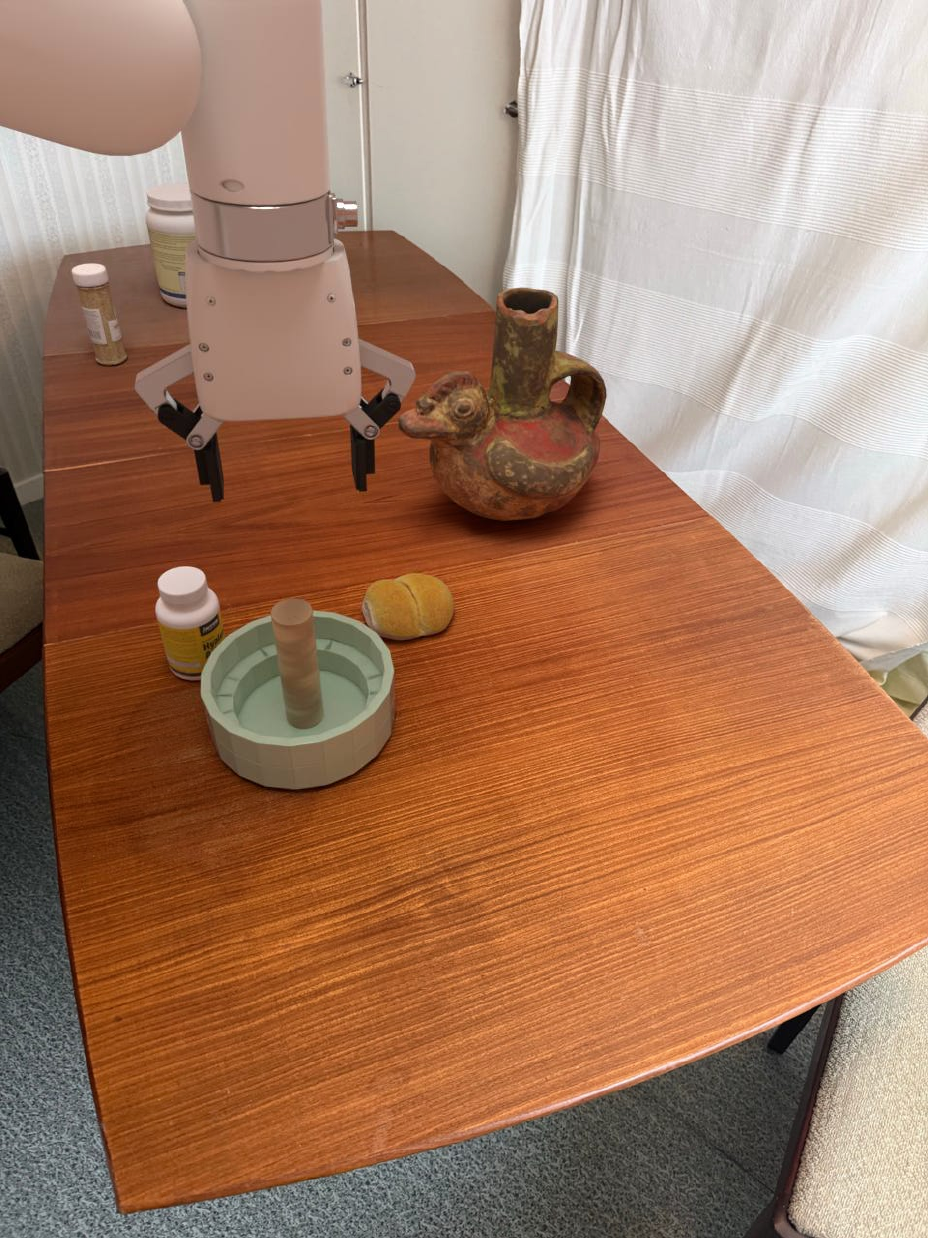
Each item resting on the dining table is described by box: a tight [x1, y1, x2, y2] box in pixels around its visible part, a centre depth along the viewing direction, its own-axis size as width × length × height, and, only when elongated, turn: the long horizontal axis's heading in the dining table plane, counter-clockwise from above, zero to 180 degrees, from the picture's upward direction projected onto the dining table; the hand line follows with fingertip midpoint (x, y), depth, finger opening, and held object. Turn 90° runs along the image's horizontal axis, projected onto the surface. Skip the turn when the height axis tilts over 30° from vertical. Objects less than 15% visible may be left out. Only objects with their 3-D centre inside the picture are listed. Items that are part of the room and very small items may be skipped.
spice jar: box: [71, 263, 128, 367], centre depth 120 cm, size 5×5×14 cm
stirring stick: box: [270, 597, 324, 729], centre depth 68 cm, size 3×3×12 cm
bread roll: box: [361, 572, 455, 641], centre depth 82 cm, size 8×9×4 cm
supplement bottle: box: [154, 565, 227, 681], centre depth 74 cm, size 5×5×10 cm
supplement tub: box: [145, 182, 197, 309], centre depth 138 cm, size 12×12×17 cm
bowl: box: [200, 609, 396, 790], centre depth 70 cm, size 16×16×6 cm
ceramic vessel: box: [397, 287, 608, 522], centre depth 90 cm, size 17×26×25 cm, turn 121°
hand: (290, 486), depth 58 cm, fingers open, 9 cm apart
